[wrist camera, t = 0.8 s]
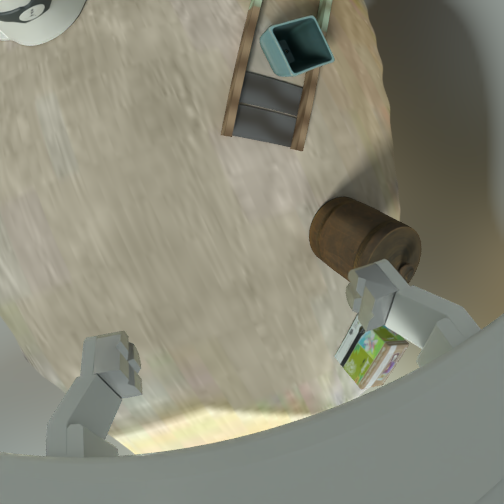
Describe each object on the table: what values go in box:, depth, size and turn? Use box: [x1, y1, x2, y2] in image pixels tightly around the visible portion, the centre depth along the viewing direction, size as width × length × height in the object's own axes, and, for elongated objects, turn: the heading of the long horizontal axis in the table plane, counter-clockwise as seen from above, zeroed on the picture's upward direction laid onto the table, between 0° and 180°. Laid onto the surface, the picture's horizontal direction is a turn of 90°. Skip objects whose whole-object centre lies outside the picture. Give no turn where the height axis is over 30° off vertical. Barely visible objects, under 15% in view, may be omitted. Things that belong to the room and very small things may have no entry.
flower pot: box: [260, 15, 335, 77], centre depth 41 cm, size 9×9×9 cm
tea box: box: [335, 315, 409, 389], centre depth 76 cm, size 15×10×15 cm
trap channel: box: [221, 0, 332, 151], centre depth 43 cm, size 36×14×4 cm, turn 168°
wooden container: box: [309, 197, 421, 283], centre depth 55 cm, size 15×15×22 cm
